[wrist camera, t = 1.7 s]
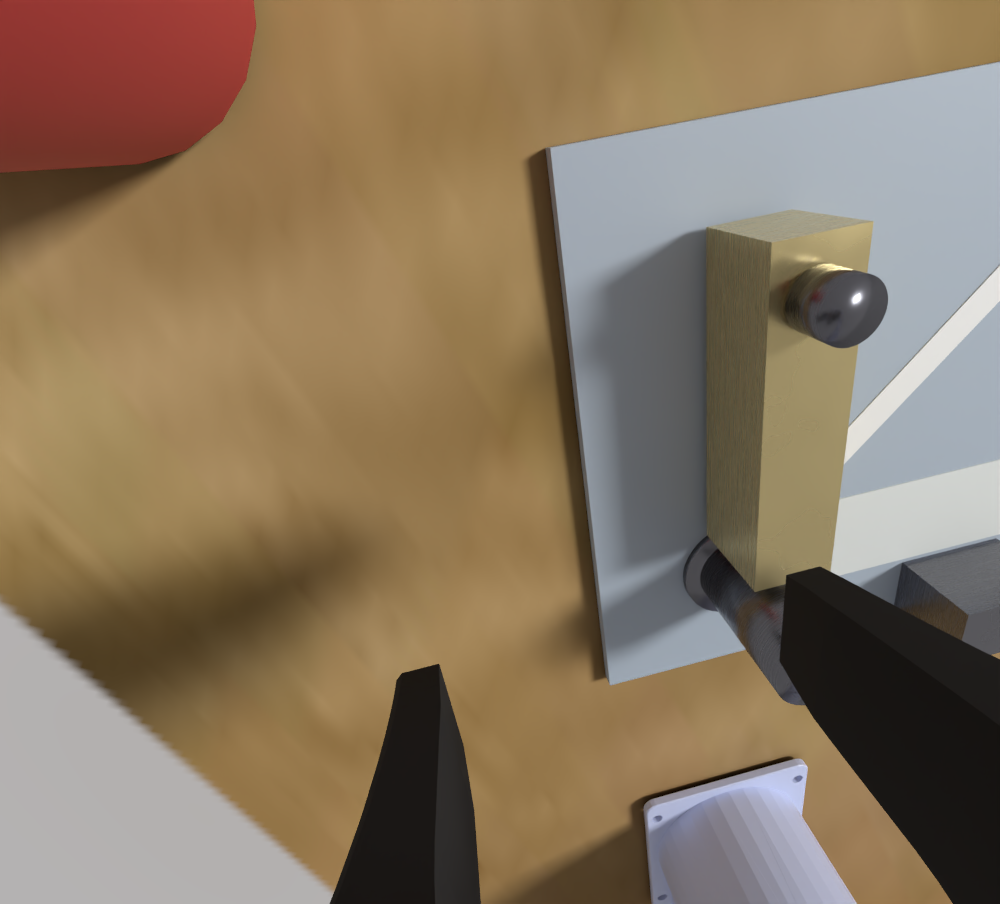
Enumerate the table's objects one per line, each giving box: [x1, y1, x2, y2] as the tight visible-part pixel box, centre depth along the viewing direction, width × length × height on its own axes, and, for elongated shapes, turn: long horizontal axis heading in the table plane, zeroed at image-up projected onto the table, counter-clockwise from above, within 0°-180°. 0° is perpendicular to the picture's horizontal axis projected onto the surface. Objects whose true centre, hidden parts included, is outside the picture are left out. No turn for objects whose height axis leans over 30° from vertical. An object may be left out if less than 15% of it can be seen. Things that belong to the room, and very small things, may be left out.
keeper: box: [894, 538, 1000, 655], centre depth 23 cm, size 2×4×3 cm, turn 99°
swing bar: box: [706, 209, 888, 592], centre depth 16 cm, size 10×2×4 cm, turn 10°
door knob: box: [683, 536, 805, 705], centre depth 20 cm, size 4×4×5 cm
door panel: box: [545, 61, 1000, 685], centre depth 20 cm, size 19×18×1 cm
